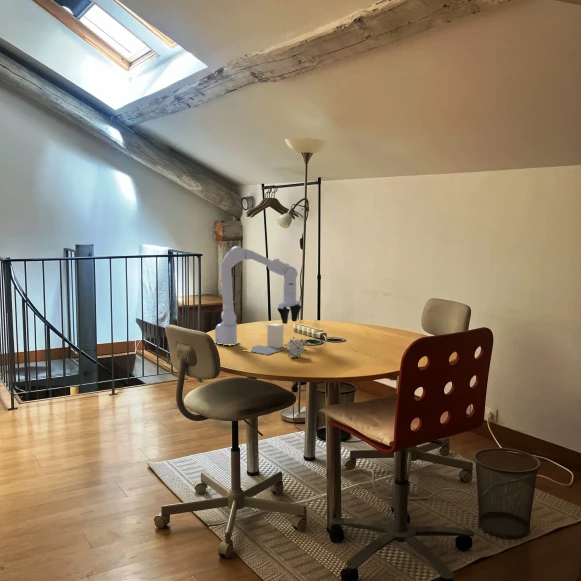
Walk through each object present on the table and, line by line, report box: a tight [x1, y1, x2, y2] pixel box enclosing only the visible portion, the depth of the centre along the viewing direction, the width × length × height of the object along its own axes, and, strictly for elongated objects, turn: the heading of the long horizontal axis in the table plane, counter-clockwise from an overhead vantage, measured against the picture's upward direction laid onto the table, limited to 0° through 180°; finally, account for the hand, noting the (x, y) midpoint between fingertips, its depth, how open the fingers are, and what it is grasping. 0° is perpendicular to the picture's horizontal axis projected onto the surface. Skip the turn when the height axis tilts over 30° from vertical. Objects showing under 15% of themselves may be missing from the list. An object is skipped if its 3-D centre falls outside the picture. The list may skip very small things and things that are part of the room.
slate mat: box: [250, 344, 285, 356], centre depth 264 cm, size 14×12×1 cm
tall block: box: [266, 323, 284, 348], centre depth 271 cm, size 5×5×10 cm
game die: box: [283, 336, 308, 360], centre depth 252 cm, size 9×8×10 cm
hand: (289, 322), depth 279 cm, fingers open, 7 cm apart
